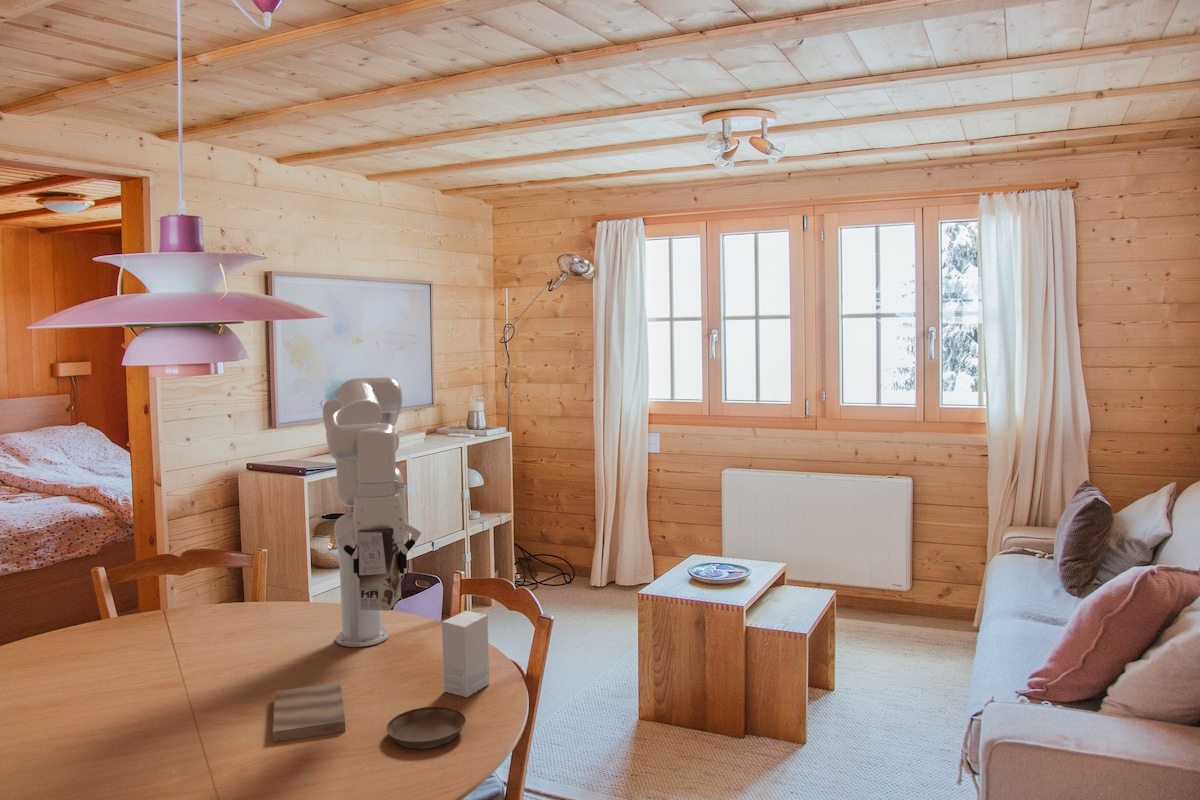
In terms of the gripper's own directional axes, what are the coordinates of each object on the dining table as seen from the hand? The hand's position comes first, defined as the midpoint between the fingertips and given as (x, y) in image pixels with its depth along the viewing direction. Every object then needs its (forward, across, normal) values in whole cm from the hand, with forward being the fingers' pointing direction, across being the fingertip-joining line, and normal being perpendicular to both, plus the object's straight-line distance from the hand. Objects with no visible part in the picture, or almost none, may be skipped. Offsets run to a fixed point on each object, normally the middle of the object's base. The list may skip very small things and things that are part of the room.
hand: (380, 573), depth 185 cm
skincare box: (+27, -17, 0) cm, 32 cm away
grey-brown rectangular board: (+27, +15, +2) cm, 31 cm away
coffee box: (+6, 0, 0) cm, 6 cm away
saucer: (+27, -6, +19) cm, 34 cm away
